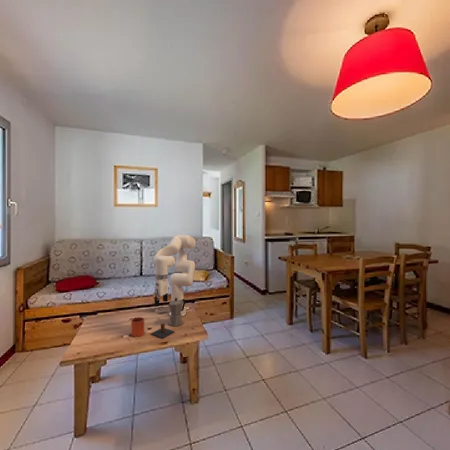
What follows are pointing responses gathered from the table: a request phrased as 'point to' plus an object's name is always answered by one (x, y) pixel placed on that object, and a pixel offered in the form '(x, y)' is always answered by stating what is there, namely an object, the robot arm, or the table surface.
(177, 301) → the coffeepot
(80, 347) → the table surface
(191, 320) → the table surface
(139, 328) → the cup
